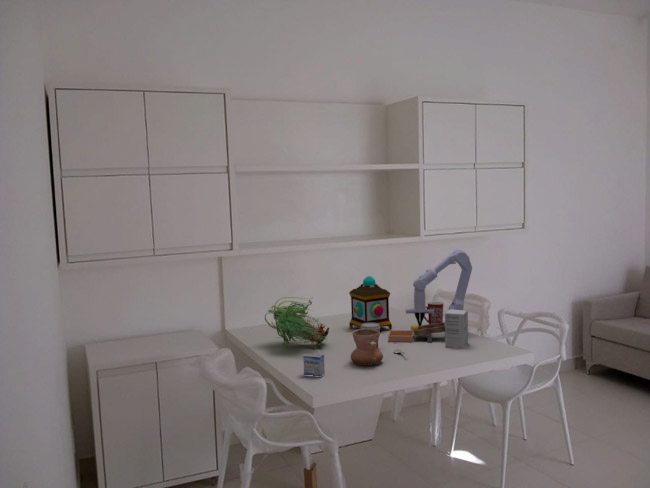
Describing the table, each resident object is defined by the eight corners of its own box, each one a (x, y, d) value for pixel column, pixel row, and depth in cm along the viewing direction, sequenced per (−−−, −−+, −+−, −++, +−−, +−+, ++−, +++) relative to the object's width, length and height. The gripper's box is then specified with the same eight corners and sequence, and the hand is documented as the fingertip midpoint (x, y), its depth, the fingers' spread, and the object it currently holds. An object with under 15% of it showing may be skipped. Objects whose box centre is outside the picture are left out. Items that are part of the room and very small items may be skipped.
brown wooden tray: (445, 325, 294) (444, 319, 294) (446, 332, 279) (445, 326, 279) (415, 329, 297) (414, 323, 297) (414, 337, 282) (413, 331, 282)
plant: (326, 344, 257) (258, 310, 261) (311, 378, 278) (249, 346, 283) (349, 300, 279) (287, 269, 283) (334, 334, 300) (276, 305, 304)
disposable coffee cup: (367, 345, 279) (367, 321, 278) (384, 347, 273) (383, 323, 272) (357, 350, 271) (356, 325, 270) (374, 352, 265) (373, 327, 264)
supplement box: (449, 342, 279) (449, 308, 277) (468, 343, 275) (468, 310, 273) (445, 347, 270) (444, 312, 269) (464, 349, 266) (463, 314, 265)
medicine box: (303, 376, 235) (302, 356, 234) (307, 373, 239) (306, 353, 238) (321, 377, 232) (320, 357, 231) (325, 374, 236) (324, 354, 235)
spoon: (400, 351, 268) (399, 347, 268) (416, 363, 248) (416, 359, 248) (391, 352, 267) (391, 348, 267) (407, 364, 247) (407, 360, 247)
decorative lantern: (346, 328, 315) (344, 275, 313) (376, 323, 324) (374, 272, 322) (364, 335, 298) (362, 279, 295) (395, 330, 306) (394, 276, 304)
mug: (440, 324, 317) (440, 300, 316) (446, 327, 308) (446, 303, 307) (419, 325, 315) (418, 302, 314) (424, 329, 306) (423, 305, 305)
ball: (419, 329, 288) (417, 322, 288) (419, 331, 284) (416, 323, 284) (411, 331, 289) (409, 324, 289) (411, 333, 285) (409, 326, 285)
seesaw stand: (431, 336, 292) (431, 327, 291) (431, 342, 279) (431, 333, 279) (427, 336, 292) (427, 327, 292) (427, 342, 280) (427, 333, 279)
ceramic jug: (390, 365, 244) (389, 333, 243) (359, 370, 240) (358, 337, 238) (373, 355, 261) (372, 325, 260) (344, 359, 256) (343, 328, 255)
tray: (413, 336, 293) (413, 330, 293) (412, 342, 281) (412, 336, 281) (390, 335, 295) (389, 330, 295) (388, 342, 283) (388, 336, 283)
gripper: (433, 300, 296) (433, 325, 297) (405, 299, 298) (406, 325, 300) (433, 302, 289) (434, 328, 290) (405, 302, 291) (405, 328, 293)
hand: (420, 327), depth 294 cm, fingers closed, pressing on brown wooden tray
